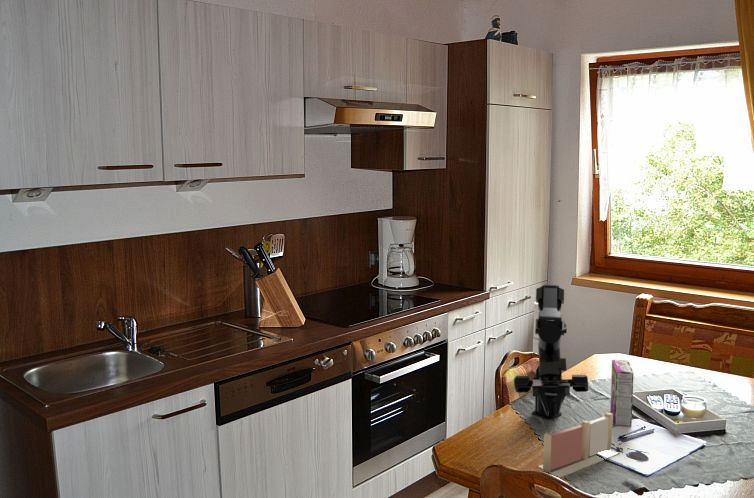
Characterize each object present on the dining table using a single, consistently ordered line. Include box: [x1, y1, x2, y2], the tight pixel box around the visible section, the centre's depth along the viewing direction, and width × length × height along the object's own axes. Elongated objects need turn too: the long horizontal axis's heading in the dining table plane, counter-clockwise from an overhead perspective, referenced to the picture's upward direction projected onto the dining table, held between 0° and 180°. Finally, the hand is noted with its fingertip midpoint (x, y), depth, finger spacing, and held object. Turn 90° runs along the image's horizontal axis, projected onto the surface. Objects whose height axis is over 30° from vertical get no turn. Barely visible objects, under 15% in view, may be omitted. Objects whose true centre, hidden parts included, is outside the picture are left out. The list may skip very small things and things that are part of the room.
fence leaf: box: [542, 424, 583, 473], centre depth 178 cm, size 13×2×9 cm, turn 122°
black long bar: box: [532, 300, 539, 355], centre depth 248 cm, size 7×7×25 cm
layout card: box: [537, 454, 605, 479], centre depth 182 cm, size 23×7×1 cm, turn 124°
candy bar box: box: [609, 359, 634, 427], centre depth 207 cm, size 11×5×16 cm, turn 168°
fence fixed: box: [581, 412, 614, 460], centre depth 185 cm, size 11×2×10 cm, turn 124°
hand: (552, 415), depth 181 cm, fingers open, 2 cm apart
